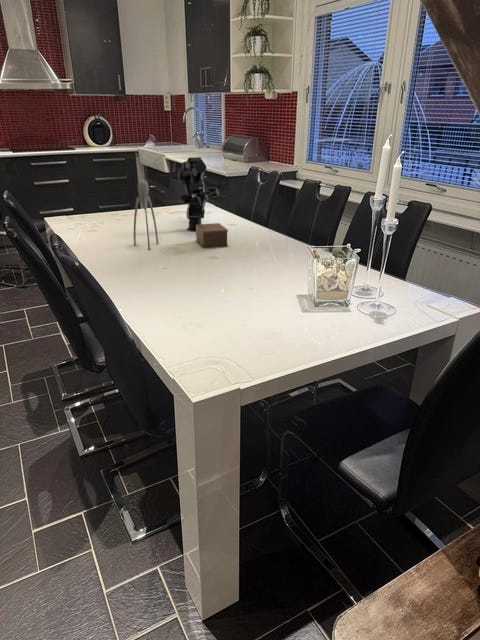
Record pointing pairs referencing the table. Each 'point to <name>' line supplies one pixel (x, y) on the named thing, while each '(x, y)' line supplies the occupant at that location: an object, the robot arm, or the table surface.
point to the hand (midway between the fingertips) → (202, 211)
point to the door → (211, 228)
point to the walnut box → (211, 239)
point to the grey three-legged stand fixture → (143, 199)
